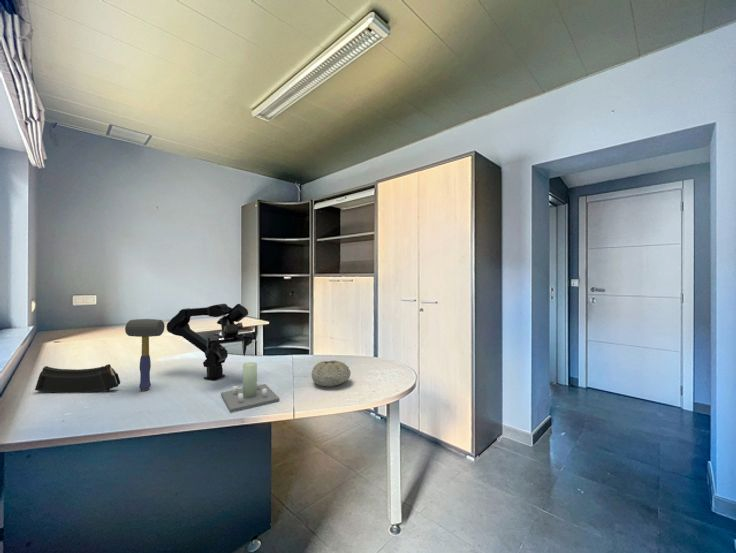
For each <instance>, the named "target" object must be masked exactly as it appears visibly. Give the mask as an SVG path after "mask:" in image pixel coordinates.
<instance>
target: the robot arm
mask: <svg viewBox="0 0 736 553" xmlns="http://www.w3.org/2000/svg"><path fill="white" fill-rule="evenodd" d="M248 315H249V310H248V309H247V308H246V307H244V306H243V305H241V303H237V304H236V305H234V306H233V307H230V306H229V305H227V304H226V303H218V304H213V305H210V306H206V307H192V308H190V307H187V308H182V309H180V310H179V312H178V313H177V314H175V315H174V316H173V317H172V318H171V319H170V320H169V321H168V322H167V323H166V331H167V332H168V333H169V334H172V335H174V336H178V337H182V338H183V339H184V340H186V341H187V342H189V343H190V344H191V345H193V346H194V347H196V348H197V349H199V350H200V351H201V352H203V353H204V355H205V358H206V359H205V360H204V361H203V362H202V364H203V367H204V368H206V376H204V377H203V379H204V380H209V381H217V380H219V379H222V378H224V377H225V374H223V373H224V370H223V364H224V363H225V362H226V359H228V356H229V355H228V354H229V353H228V350H227V349H226V347H224V346H223V345H222V344H226V343H228V344H229V343H238V342H241V343H242V344H241V349H242V354H243V357H245V356H246V353H247V352H246V351H247V348H248V347H247V346H250V345H251V344H252V343H253V339H254V333H253V332H245V333H243V334H242V336H239V331H242V330H244V326H243V322H240V321H242V320H243V319H244V318H246V317H247V316H248ZM202 316H207V317H211V318H219V317H221V318H219V319H218V320H217V322H216V324H217V325H220V327H221V332H222V333H221V334H222V338H219V336H218V335H213V336H208V337H207V339H205V337H203V336H201V335H200V334H198V333H197V332H195V331H194V330H192V329H191V326H190V324H189V323H190V322H191V318H192V317H202Z"/></svg>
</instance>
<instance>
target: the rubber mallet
mask: <svg viewBox="0 0 736 553" xmlns="http://www.w3.org/2000/svg"><path fill="white" fill-rule="evenodd" d="M124 331H125V334H126V335H127V336H128V337H136V338H137V337H140V338H141V356H140V359H139V373H140V378H139V379H140V380H139V385H138V388H139V389H140V391H148V390H150V389H151V387H152V386H151V385H152V383H151V380H150V379H151V367H152V365H151V364H152V363H151V362H152V361H151V356H150V337H159V336H162V335H163V333H164V331H165V323H164V321H163V320H162V319H157V318H155V319H153V318H138V319H137V318H135V319H130V320H128V321H127V322H126V324H125V328H124Z"/></svg>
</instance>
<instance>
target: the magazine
mask: <svg viewBox="0 0 736 553" xmlns="http://www.w3.org/2000/svg"><path fill="white" fill-rule="evenodd" d="M120 384H121V380H120V377H119V374H118V373H117V372H116V370H115V369H114V368H113V367H112V365H111V364H109V363H108V364H105V365H102V366H100V367H91V368H83V369H78V368H77V369H72V368H68V369H67V368H55V367H52V366H51V367H50V366H47V365H46V366H43V368H42V370H41V372H40V373H39V376H38V378H37V381H36V384H35V388H34V391H40V392H47V393H60V394H81V393H82V394H83V393H84V394H85V393H94V392H102V391H106V392H111V389H115V388H118V387H119V385H120Z"/></svg>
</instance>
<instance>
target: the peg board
mask: <svg viewBox="0 0 736 553" xmlns="http://www.w3.org/2000/svg"><path fill="white" fill-rule="evenodd" d="M238 387H239V386H238V385H234V386H232V390H228V391H222V392H220V396H222V397H221V398H222V400H223V402H224V403H226V404H225V405H227V406H226V407H227V410H228V411H229V413H235V412H239V410H240V411H243V409H244V410H248V409H252V408H256V407H260V406H266V405H269V403H270V404H274V403H279V402H280V397H279V396H278V395H277V394H276V393H275V392H274V391H273V390H272V389H271V388H270V386H268V385H267V384H266V383H264V384H261V381H257V395H256V396H255V397H252V398H244V397H243V387H242V388H238ZM234 411H235V412H234Z"/></svg>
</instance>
